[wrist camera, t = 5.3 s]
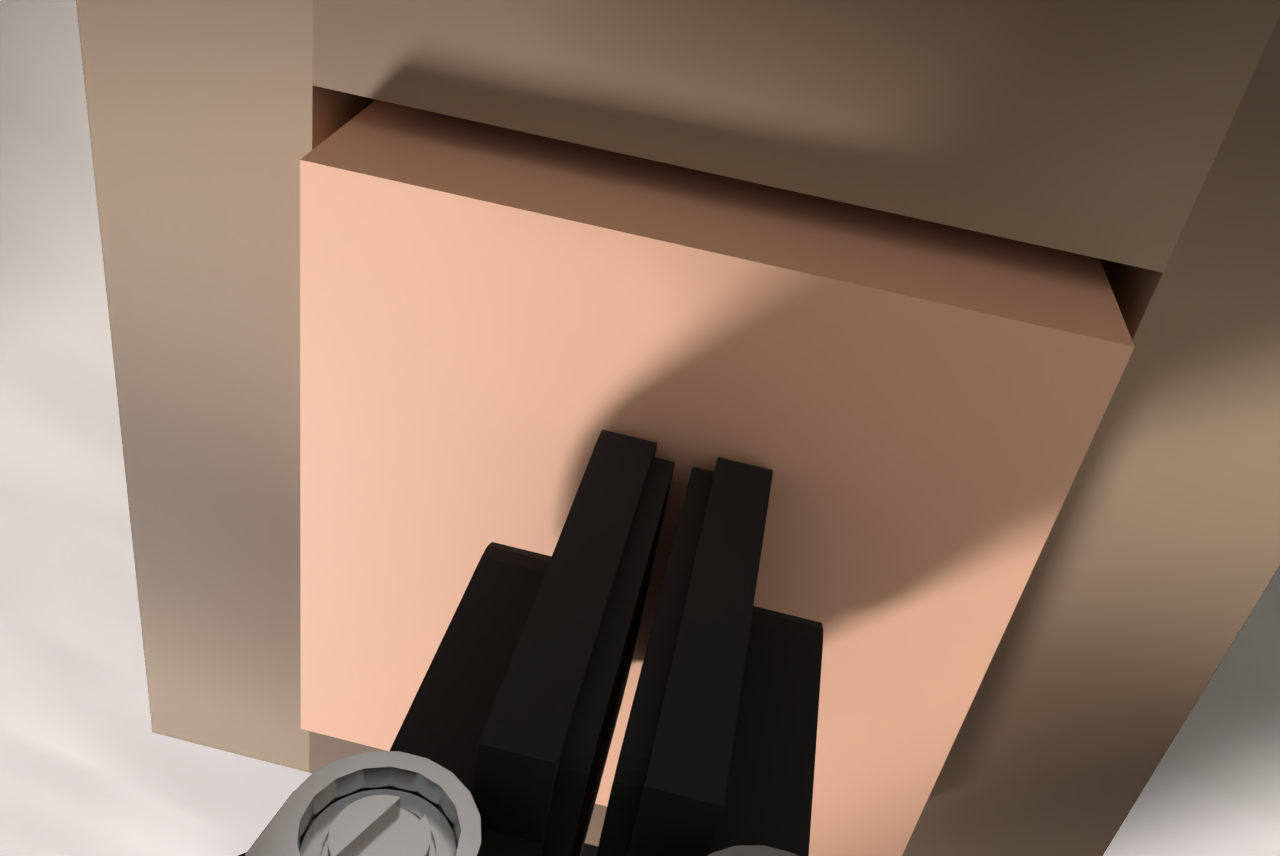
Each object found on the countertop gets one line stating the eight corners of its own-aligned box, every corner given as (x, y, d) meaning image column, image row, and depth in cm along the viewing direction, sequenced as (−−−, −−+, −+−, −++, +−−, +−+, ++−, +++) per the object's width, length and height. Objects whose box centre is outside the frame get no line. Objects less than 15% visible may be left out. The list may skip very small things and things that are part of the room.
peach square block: (888, 594, 17) (890, 878, 13) (436, 486, 18) (300, 728, 14) (1055, 147, 13) (1134, 348, 9) (474, 21, 14) (300, 159, 10)
